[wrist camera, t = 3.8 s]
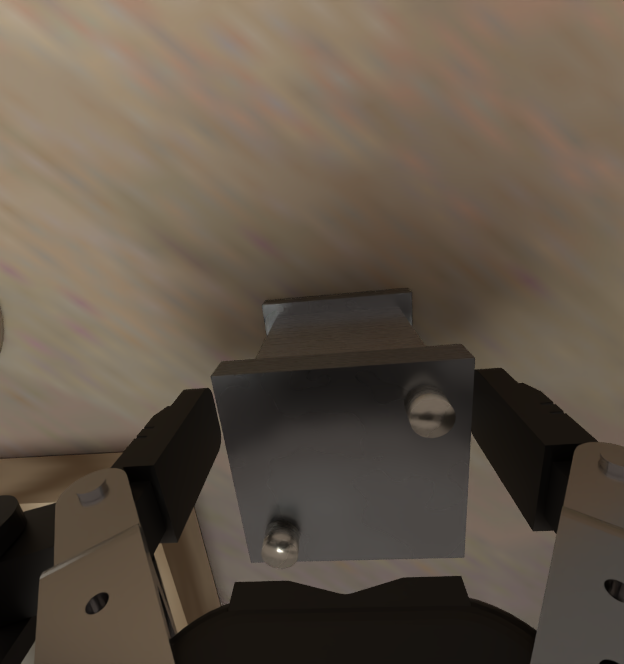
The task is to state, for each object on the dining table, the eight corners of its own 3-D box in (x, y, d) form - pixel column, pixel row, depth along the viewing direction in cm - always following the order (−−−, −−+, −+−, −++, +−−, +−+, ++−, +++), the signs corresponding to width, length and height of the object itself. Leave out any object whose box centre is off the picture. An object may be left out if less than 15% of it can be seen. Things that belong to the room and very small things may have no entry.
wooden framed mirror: (178, 449, 17) (144, 502, 14) (224, 620, 21) (206, 691, 18) (-52, 461, 18) (-131, 513, 15) (34, 622, 22) (-15, 690, 18)
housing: (407, 287, 14) (486, 370, 7) (409, 412, 15) (473, 580, 8) (265, 300, 14) (200, 389, 7) (283, 419, 16) (246, 584, 9)
